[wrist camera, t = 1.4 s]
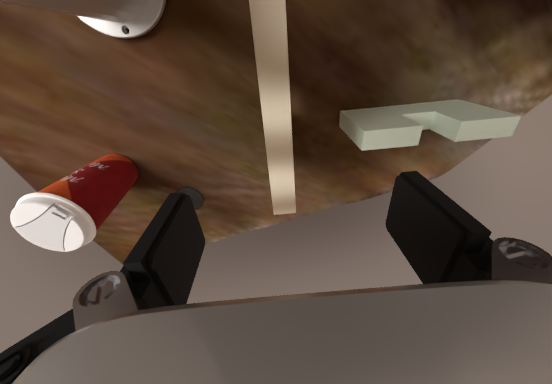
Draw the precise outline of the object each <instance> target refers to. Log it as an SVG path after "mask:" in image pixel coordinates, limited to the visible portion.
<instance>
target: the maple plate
mask: <svg viewBox="0 0 552 384" xmlns="http://www.w3.org/2000/svg"><path fill="white" fill-rule="evenodd" d="M249 6H250V15H251V23H252V32H253V40H254V49H255V57H256V66H257V75H258V83H259V92H260V100H261V109H262V118H263V126H264V135H265V143H266V152H267V160H268V169H269V178H270V186H271V195H272V203H273V212H274V215H276V214H287V213H296V205H295V185H294V164H293V144H292V124H291V104H290V83H289V63H288V43H287V23H286V2H285V0H249Z"/></svg>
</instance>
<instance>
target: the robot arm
mask: <svg viewBox="0 0 552 384" xmlns="http://www.w3.org/2000/svg"><path fill="white" fill-rule="evenodd" d="M0 3H5V4H11V5H17V6H23V7H29V8H35V9H41V10H46V11H52V12H58V13H64V14H70V15H76V16H77V17H78V18H79V19H81V20H82V21H83V22H84V23H86V24H87V25H89V26H90V27H92V28H93V29H95V30H97V31H99V32H101V33H103V34H105V35H109V36H112V37H116V38H136V37H139V36H143V35H145V34H146V33H148V32H149V31H151V30H152V29H153V28H154V27H155V26H156V25H157V24H158V22H159V20H160V18H161V17H162V15H163V11H164V8H165V5H166V0H0ZM128 28H129V32H128V31H127V29H128ZM386 228H387V230H388V232H389V233H390V235H391V236H392V238H393V239H394V241H395V242H396V244H397V245H398V247H399V248H400V250H401V251H402V253H403V254H404V256H405V257H406V259H407V260H408V262H409V263H410V265H411V266H412V268H413V269H414V271H415V272H416V274H417V275H418V277H419V278H420V280H421V281H422V283H423V284H418V285H405V286H392V287H379V288H366V289H353V290H341V291H330V292H317V293H305V294H293V295H281V296H270V297H258V298H247V299H235V300H224V301H212V302H202V303H193V304H186V303H187V300H188V297H189V294H190V290H191V287H192V284H193V281H194V278H195V275H196V271H197V268H198V265H199V262H200V259H201V256H202V253H203V250H204V246H205V238H204V235H203V232H202V229H201V226H200V223H199V221H198V218H197V215H196V212H195V209H194V206H193V203H192V200H191V198H190V196H189V195H186V194H185V193H184V192H180V193H171V194H170V195H169V196H168V197H167V199H166V200H165V202H164V203H163V205H162V206H161V208H160V209H159V211H158V212H157V214H156V215H155V217H154V218H153V220H152V221H151V223H150V224H149V226H148V227H147V229H146V230H145V232H144V233H143V235H142V236H141V238H140V239H139V240H138V242H137V243H136V245H135V246H134V248H133V249H132V251H131V252H130V254H129V255H128V257H127V258H126V260H125V261H124V263H123V265H124V266H123V268H122V269H121V271H120V272H119V271H110V272H106V273H103V274H101V275H98V276H96V277H95V278H93V279H91V280H90V281H88V282H87V283H86V284H85V285H84V286H82V287H81V289H80V290H79V291H78V292H77V293H76V295H75V297H74V299H73V309H71V310H70V311H68V312H66V313H65V314H63V315H62V316H60V317H58V318H57V319H55V320H53V321H52V322H50V323H49V324H47V325H45V326H44V327H42V328H40V329H39V330H37V331H35V332H34V333H32V334H31V335H29V336H28V337H26V338H24V339H22V340H21V341H19V342H18V343H16V344H14V345H13V346H11V347H9V348H8V349H6V350H5V351H3V352H2V353H0V384H552V256H551V255H550V254H549V253H547V252H546V251H544V250H543V249H541V248H540V247H537V246H535V245H533V244H531V243H529V242H526V241H523V240H519V239H515V238H505V237H504V238H498V239H496V240H495V241H493V240H491V239H490V238H489V236H490V234H491V231H490V230H489V229H487V228H486V227H485V226H484V225H482V224H481V223H480V222H479V221H477V220H476V219H475V218H473V216H471V215H470V214H469V213H468V212H466V211H465V210H464V209H462V208H461V207H460V206H459V205H458V204H457V203H455V202H454V201H453V200H452V199H450V198H449V197H448V196H447V195H445V194H444V193H443V192H442V191H441V190H439V189H438V188H437V187H436V186H434V185H433V184H432V183H431V182H430V181H428V180H427V179H426V178H425V177H423V176H422V175H421V174H420V173H418V172H417V171H410V172H402V173H400V175H399V176H397V177H396V179H395V184H394V188H393V192H392V197H391V202H390V206H389V210H388V215H387V219H386Z"/></svg>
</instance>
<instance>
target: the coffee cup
mask: <svg viewBox="0 0 552 384" xmlns="http://www.w3.org/2000/svg"><path fill="white" fill-rule="evenodd" d="M137 178H138V170H137V168H136V166H135V165H134V163H133V162H132V161H131V160H129V159H128V158H126V157H125V156H122V155H119V154H108V155H105V156H103V157H101V158H99V159H97V160H95V161H93V162H92V163H90V164H88V165H86V166H84V167H82V168H80V169H79V170H77V171H75V172H73V173H71V174H70V175H68V176H66V177H64V178H62V179H60V180H59V181H57V182H55V183H53V184H51V185H50V186H48V187H46V188H44V189H42V190H40V191H39V192H37V193H31V194H27V195H24V196H23V197H21V198H20V199H19V200H18V202H17V203H16V206H15V208H14V209H13V210H12V212H11V215H10V220H11V223H12V225H13V227H14V229H15V230H16V231H17V232H18V233H19V234H20V235H21V236H23V237H24V238H25V239H26V240H28V241H29V242H31V243H33V244H35V245H38V246H40V247H42V248H45V249H49V250H54V251H65V252H67V251H72V250H75V249H77V248H79V247H81V246H83V245H86V244H88V243H89V242H91V241H92V240H93V239H94V237H95V235H96V230H97V229H98V228H99V227H100V226H101V224H102V223H103V222H104V221H105V219H106V218H107V217H108V216H109V214H110V213H111V212H112V211H113V209H114V208H115V207H116V206H117V205H118V203H119V202H120V201H121V200H122V198H123V197H124V196H125V195H126V193H127V192H128V191H129V189H130V188H131V187H132V186H133V184H134V183H135V181H136V180H137Z"/></svg>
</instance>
